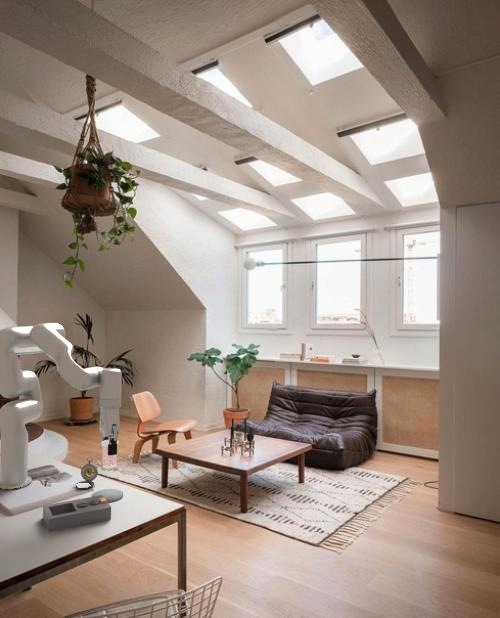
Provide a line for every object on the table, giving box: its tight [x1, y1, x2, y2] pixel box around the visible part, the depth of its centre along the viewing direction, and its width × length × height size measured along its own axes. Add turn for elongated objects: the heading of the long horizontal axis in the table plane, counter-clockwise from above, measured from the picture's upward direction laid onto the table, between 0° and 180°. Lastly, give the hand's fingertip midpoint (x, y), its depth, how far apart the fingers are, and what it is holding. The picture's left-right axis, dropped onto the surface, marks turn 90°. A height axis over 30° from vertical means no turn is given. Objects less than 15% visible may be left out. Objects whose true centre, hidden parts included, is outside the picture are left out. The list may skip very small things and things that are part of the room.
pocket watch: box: [76, 457, 99, 489], centre depth 184 cm, size 8×8×10 cm
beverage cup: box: [100, 434, 119, 470], centre depth 174 cm, size 6×6×14 cm
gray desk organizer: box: [42, 495, 112, 533], centre depth 156 cm, size 11×19×5 cm, turn 122°
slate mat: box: [91, 488, 124, 504], centre depth 174 cm, size 11×11×1 cm
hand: (109, 451), depth 174 cm, fingers closed on beverage cup, 6 cm apart
